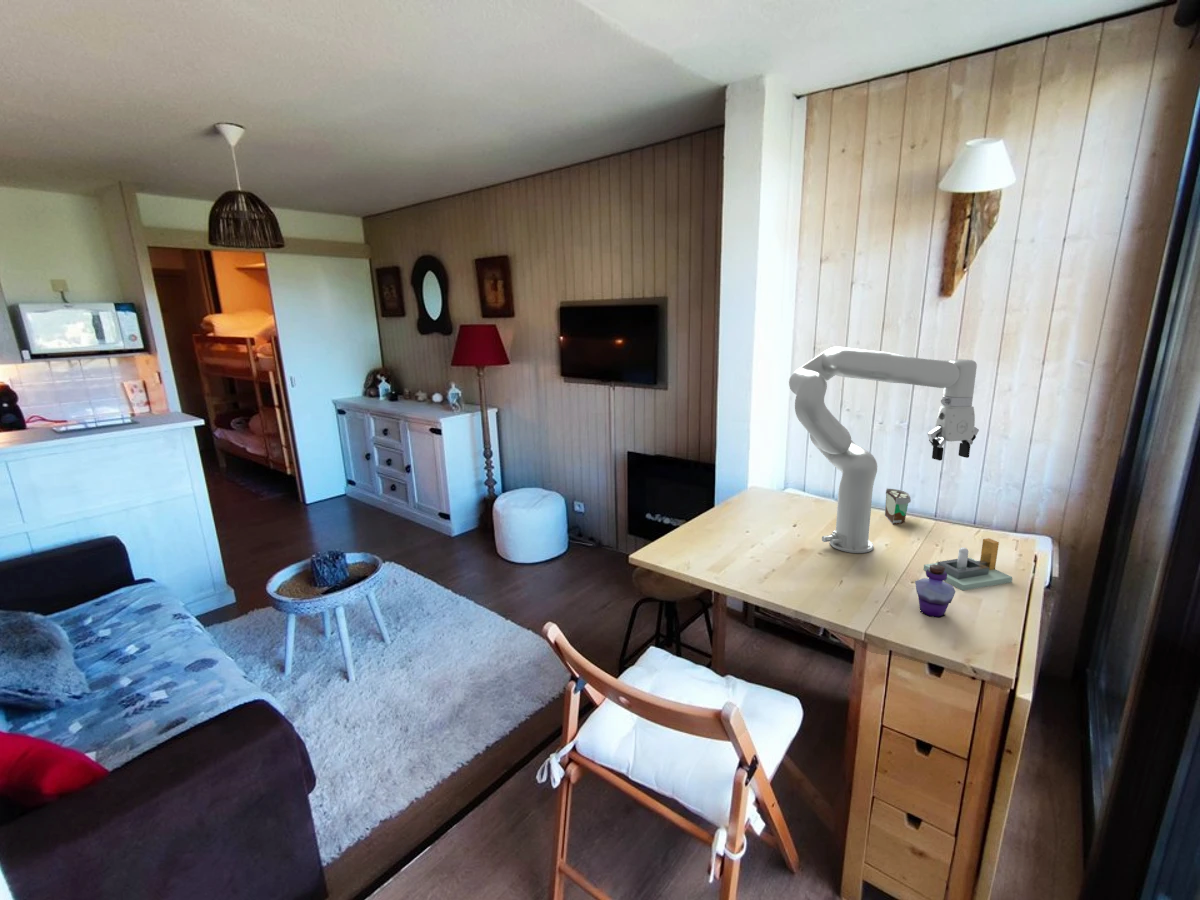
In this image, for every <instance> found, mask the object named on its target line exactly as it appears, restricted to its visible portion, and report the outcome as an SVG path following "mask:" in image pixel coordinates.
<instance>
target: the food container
mask: <svg viewBox="0 0 1200 900" xmlns="http://www.w3.org/2000/svg"><path fill="white" fill-rule="evenodd" d="M911 502H912V500H911V495H910V494H909V493H908V492H907V491H905V490H904V491H903V490H901V489H897V488H896V489H895V488H886V490H885V505H884V506H885V509H884V516H885V517H886V519H887V520H888V521H889V522H890V524H892V525H894V526H898V525H900V526H901V525H903V524H904V523H905V522H906V518H907V511H908V506H909V504H910V503H911Z"/></svg>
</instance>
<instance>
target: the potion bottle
mask: <svg viewBox="0 0 1200 900" xmlns="http://www.w3.org/2000/svg"><path fill="white" fill-rule="evenodd" d="M944 570H945V568H944V567H943V566H940V565H935V564H933V565H930V568H929V569H926V571H925V575H926V577H927V578H925V577H923V578H920V579H917V580H915V581H914V582H915V591H916V594H917V597H918V603H919V605H918V606H919V608H920V610H921V611H920V610H919V611H920V613H921V612H923V613H922V614H923V615H925V616H928V617H931V618H937V619H939V618H943V617H945V616H946V611H947V609H948V607H949V604H951V603H952V602H953V598H954V596H955V594H956V590H955V588H954V586H953V585H951V584H950V583H948V582H946V581H944V580H946V579H947V573H946V572H945V571H944Z"/></svg>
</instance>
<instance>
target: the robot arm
mask: <svg viewBox="0 0 1200 900" xmlns="http://www.w3.org/2000/svg"><path fill="white" fill-rule="evenodd" d="M977 367H978V364H977V362H976V361H975V360H972V359H951V360H942V359H931V358H930V359H929V358H928V359H927V358H920V357H913V356H907V355H903V354H898V353H894V352H888V351H878V350H868V349H862V348H861V349H860V348H851V347H844V346H832V347H830V348H828V349H826V350H824V351H822V352H821V353H820V354H818V355H817V356H815V357H814V358H812V359H810V360H809V361H808V362H806V363H805V364H803V365H802V366H799V368H797V369H796V370H794V371H793V373H792V374H791V375H790V377H789V380H788V386H789V389H790V390H791V392H792V393H793V394H795V399H794V400H795V401H794V413H795V415H796V418H797V419H798V421H799V422H800V424H801V425H802V426H803V428H805V429H806V431H807V432H808V433H809V439H810V440H811V442H812V444H813V445H814V446H815V447H816V449H817V450H818V451H820V453H821V454H822V455H823V456H824V457H825V458H826V459H827V460H828V461H829V462H830V463H831V464H832V466H833V467H835V468H836V469H837V470H839V472H841V473H842V474H841V475H842V476H841V478H840V482H839V486H838V492H837V495H838V496H837V507H836V509H837V510H836V520H835V521H836V522H835V523H836V524H835V530H833V531H832V533H831V534H830V535H822V536H821V541H822V543H827V542H828V543H829V544H830V546H831V547H833V549H836V550H839V551H842V552H845V553H850V554H864V553H869V552H871V551H873V549H874V543H873V542H872V541H870V540H869V537H870V526H871V525H870V524H871V516H872V515H871V514H872V513H871V512H872V499H873V490H874V484H875V479H876V477H877V472H878V462H877V459H876V457H875V456H874V455H873V454H872V453H871V452H870V451H868V450H866V449H865V448H863V447H860V446H859V445H857V444H856V443H855V442H854V441H853V440H852V437H851V434H850V432H849V431H848V429H847V428H846V427H845V426H844V425H843V424H842V423H841V422H840V421H839V420H838V419H837V418H836V417H835V416H834V415H833V414H832V412H831V411H830V410H829V409H828V407H827V406H826V404H825V403H826V402H825V395H826V393H827V390H828V381H829V380H830V379H832V378H834V377H835V376H837V377H842V378H848V379H849V378H850V379H859V380H867V381H876V382H882V383H883V382H885V383H890V384H891V383H892V384H905V385H906V384H907V385H914V386H922V387H928V388H929V387H931V388H939V389H943V390H942V399H940V403H941V405H940V407H939V410H938V414H937V418H936V422H935V428H933V429H931V430H930V431H928V433H927V437H928V441H929V443H930V445H931V446H932V453H931V459H932V460H936V461H940V462H941V461H942V460H943V456H944V447H943V446H944V445H945V443H946V442H960V443H959V447H958V456H959V457H963V458H966V459H967V458H969V457H970V452H971V445H973V443H974V442H973V441H975V439H976V438H977V435H978V433H979V431H980V430H979V428H977V427H975V423H976V421H975V418H976V417H975V416H976V415H975V407H974V406H973V400H974V399H973V398H974V392H975V391H974V390H975V382H976V375H977Z"/></svg>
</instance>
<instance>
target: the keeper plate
mask: <svg viewBox="0 0 1200 900" xmlns="http://www.w3.org/2000/svg"><path fill="white" fill-rule="evenodd" d="M968 558H969V559H972V560H974V561H977V560H976V559H975V558H973V557H969V550H968V548H967V547H960V548H959V549H958V553H957V559H958V561H957V568H956V569H958V570H960V569H966V568H968V567H967V559H968ZM937 563H938V562H934V563H933V562H932V563H927V564H923V570H924V571H925V572H926V569H929V568H930V565H933V564H935V565H937ZM943 582H945V583H948V584H950V585H952V586H953V587H955V588H958V589H959V590H961V591H967V590H969V591H970V590H974V589H980V588H985V587H991V586H997V585H1002V584H1009V583H1013V576H1011V575H1008V574H1007V573H1005V572H1004V571H1003V572H1002V571H1000V570H998V569H996V568H995V569H993V570H989V574H988V575H982V576H976V577H970V578H964V579H956V578H954V577H952V576H950V575H948V574H947V579H946V580H943Z"/></svg>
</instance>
